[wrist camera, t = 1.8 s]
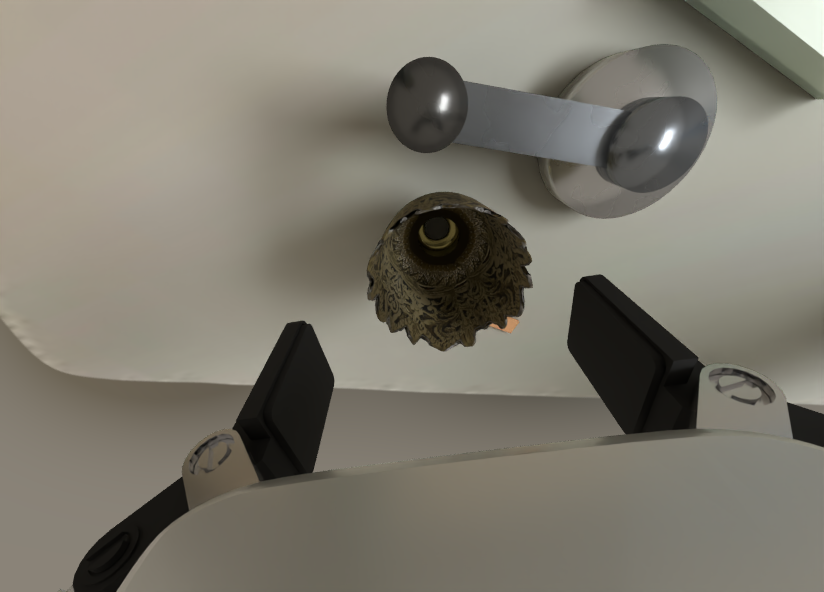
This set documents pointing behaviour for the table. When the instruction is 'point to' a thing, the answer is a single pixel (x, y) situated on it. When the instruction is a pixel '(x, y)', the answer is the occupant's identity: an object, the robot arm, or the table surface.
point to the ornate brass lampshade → (448, 271)
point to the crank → (547, 125)
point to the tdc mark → (508, 325)
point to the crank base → (614, 88)
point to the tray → (777, 34)
